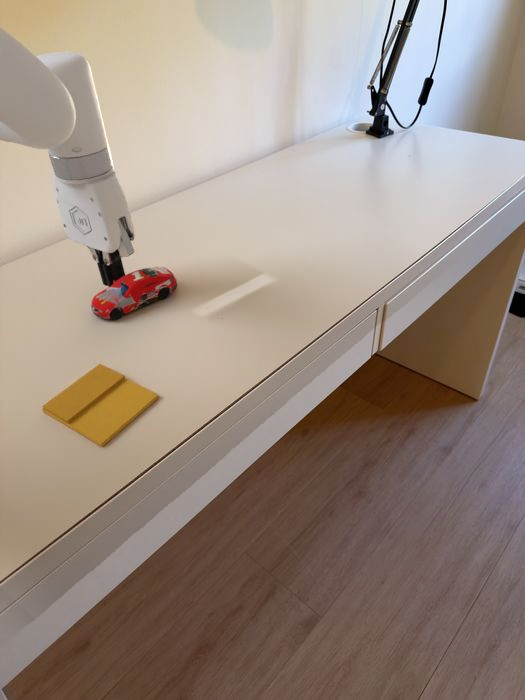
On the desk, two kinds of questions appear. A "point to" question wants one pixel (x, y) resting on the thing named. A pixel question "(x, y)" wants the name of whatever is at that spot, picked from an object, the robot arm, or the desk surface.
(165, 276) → the race car
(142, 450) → the desk surface
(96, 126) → the robot arm
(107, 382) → the rag
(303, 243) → the desk surface
